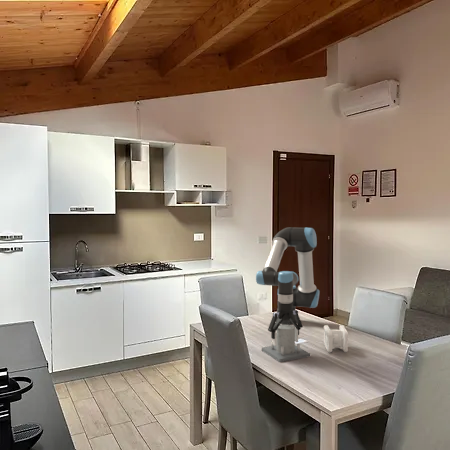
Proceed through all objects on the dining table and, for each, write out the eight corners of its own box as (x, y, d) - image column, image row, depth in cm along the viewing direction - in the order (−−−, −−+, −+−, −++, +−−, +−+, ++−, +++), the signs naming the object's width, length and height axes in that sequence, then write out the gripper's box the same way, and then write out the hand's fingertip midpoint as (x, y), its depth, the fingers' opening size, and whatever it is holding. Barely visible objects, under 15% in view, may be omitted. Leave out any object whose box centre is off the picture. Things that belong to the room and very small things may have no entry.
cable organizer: (348, 354, 221) (348, 332, 220) (327, 354, 222) (327, 332, 221) (342, 345, 236) (342, 324, 235) (322, 344, 237) (322, 323, 236)
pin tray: (261, 350, 228) (261, 340, 228) (290, 345, 235) (290, 335, 235) (279, 362, 212) (279, 351, 211) (310, 356, 219) (310, 345, 219)
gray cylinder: (296, 353, 219) (296, 329, 218) (277, 353, 219) (277, 329, 218) (293, 347, 228) (293, 324, 227) (275, 347, 228) (275, 324, 228)
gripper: (268, 306, 213) (268, 348, 215) (309, 301, 223) (309, 341, 225) (261, 302, 220) (261, 344, 222) (301, 298, 230) (301, 337, 231)
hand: (285, 343), depth 223 cm, fingers open, 12 cm apart
